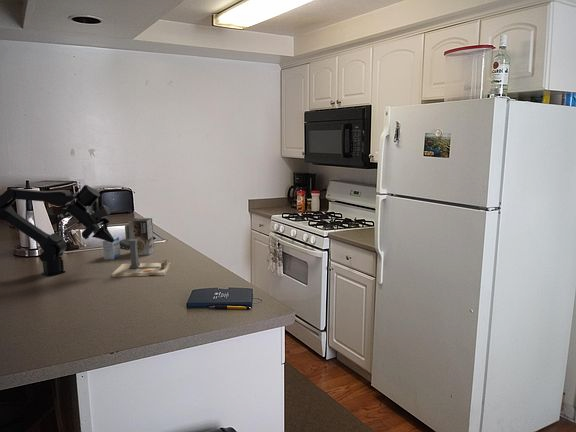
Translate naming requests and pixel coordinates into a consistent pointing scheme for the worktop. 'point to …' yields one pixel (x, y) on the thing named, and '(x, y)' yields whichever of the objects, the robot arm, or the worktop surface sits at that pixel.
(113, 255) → the medicine box
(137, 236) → the coffee box
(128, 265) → the switch panel
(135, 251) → the dark grey tall block
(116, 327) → the worktop surface
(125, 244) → the media streaming box
